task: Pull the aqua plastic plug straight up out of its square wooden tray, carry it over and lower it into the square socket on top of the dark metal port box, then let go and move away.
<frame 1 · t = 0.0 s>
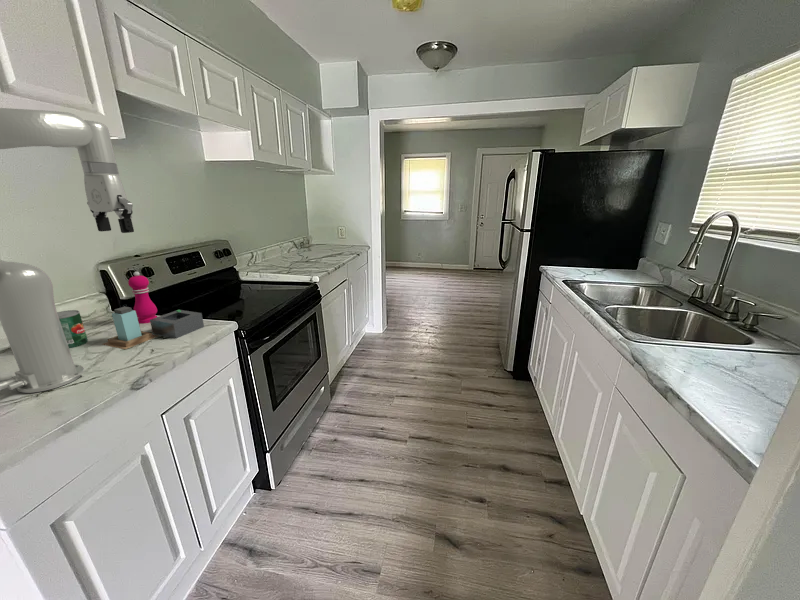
hand: (116, 231, 97), 37 cm above the worktop, tool pointing down, fingers open, 9 cm apart
pepper mill: (148, 322, 126), on the worktop
square wooden tray: (131, 341, 110), on the worktop
canned tomato: (72, 346, 106), on the worktop
plug: (131, 339, 109), point 1 cm above the worktop, touching square wooden tray
port: (179, 331, 118), on the worktop
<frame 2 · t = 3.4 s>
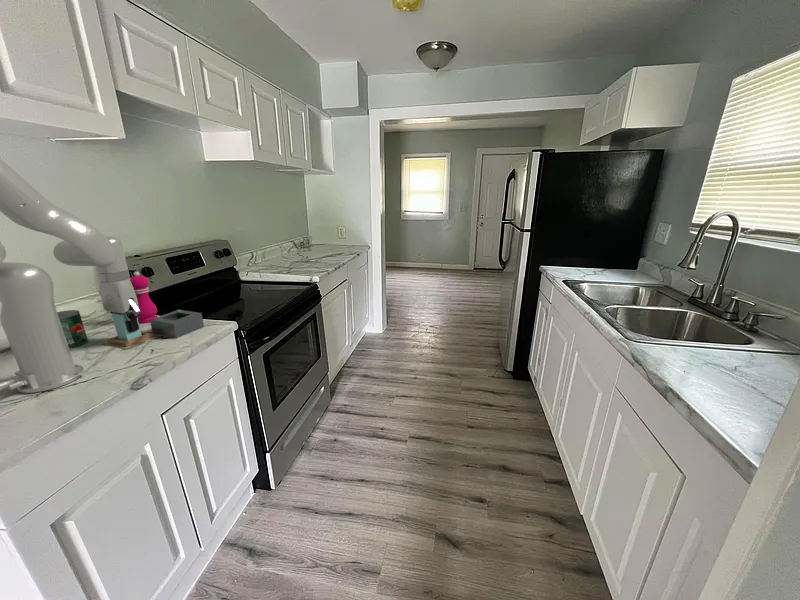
hand: (128, 329, 108), 4 cm above the worktop, tool pointing down, fingers closed on plug, 4 cm apart
plug: (131, 339, 109), point 1 cm above the worktop, touching gripper, square wooden tray
everything else where it was.
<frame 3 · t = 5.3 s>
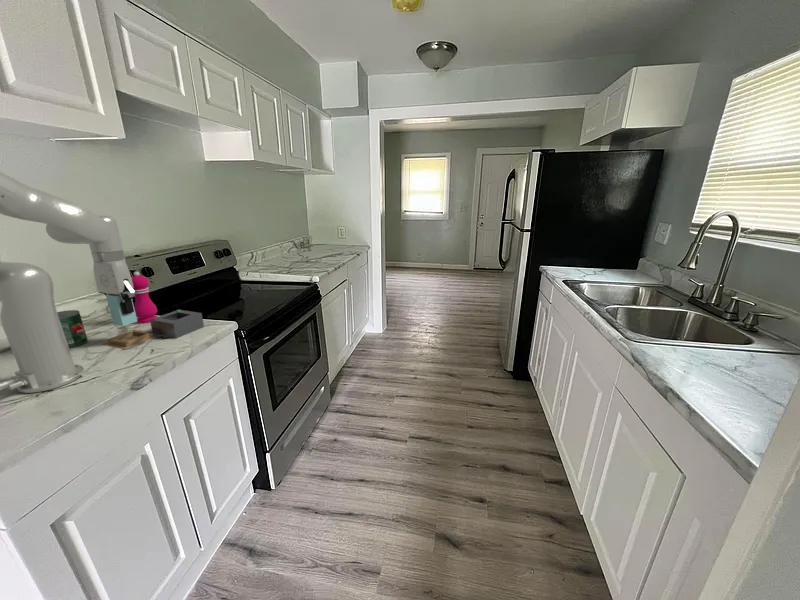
hand: (122, 311, 106), 11 cm above the worktop, tool pointing down, fingers closed on plug, 4 cm apart
plug: (125, 322, 107), point 7 cm above the worktop, touching gripper
everything else where it was.
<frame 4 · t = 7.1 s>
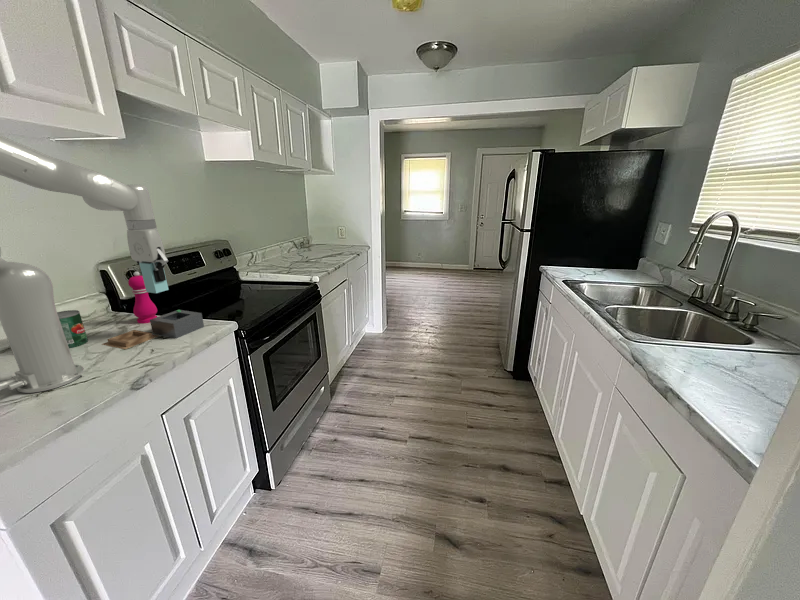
hand: (155, 280, 110), 20 cm above the worktop, tool pointing down, fingers closed on plug, 4 cm apart
plug: (157, 290, 111), point 16 cm above the worktop, touching gripper
everything else where it was.
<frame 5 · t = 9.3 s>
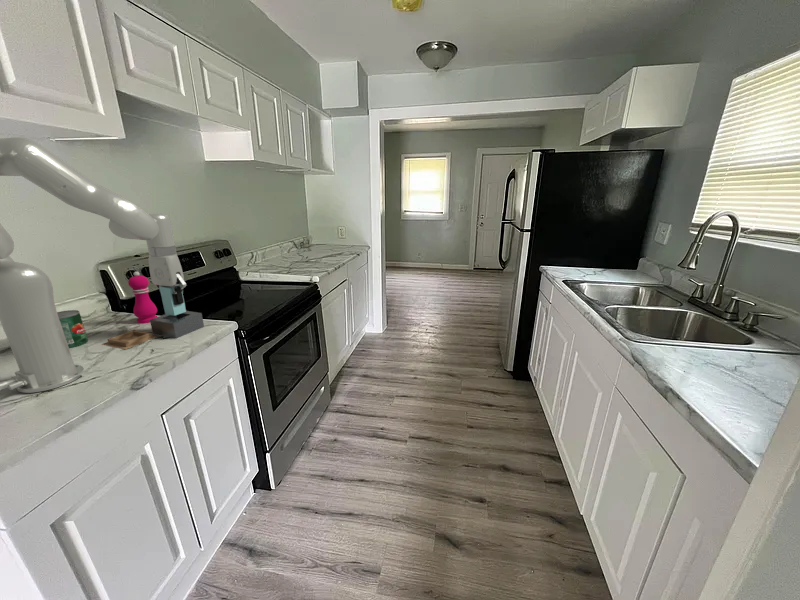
hand: (173, 302, 114), 11 cm above the worktop, tool pointing down, fingers closed on plug, 4 cm apart
plug: (175, 312, 116), point 7 cm above the worktop, touching gripper
everything else where it was.
when the fingers open (8 cm above the worktop, at t = 11.1 s): plug stays where it is, resting on port.
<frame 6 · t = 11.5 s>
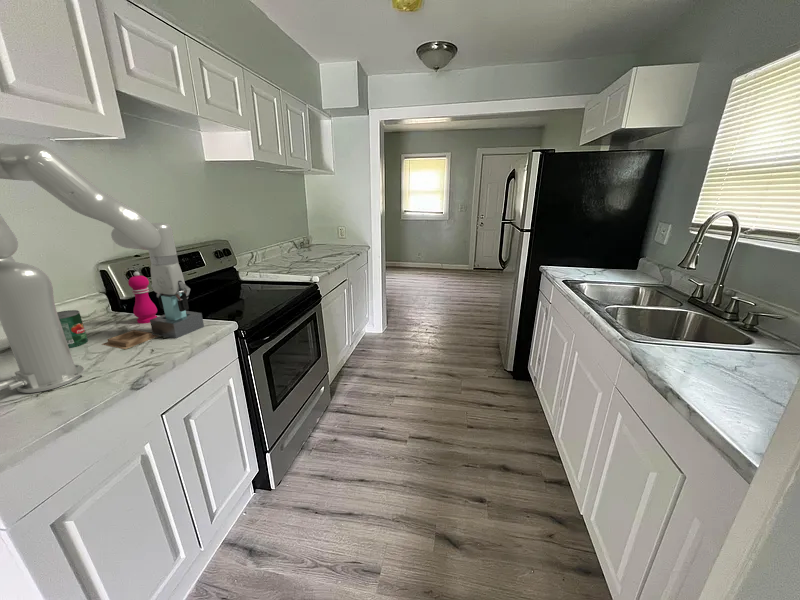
hand: (174, 308, 115), 9 cm above the worktop, tool pointing down, fingers open, 8 cm apart
plug: (177, 321, 117), point 4 cm above the worktop, touching port
everything else where it was.
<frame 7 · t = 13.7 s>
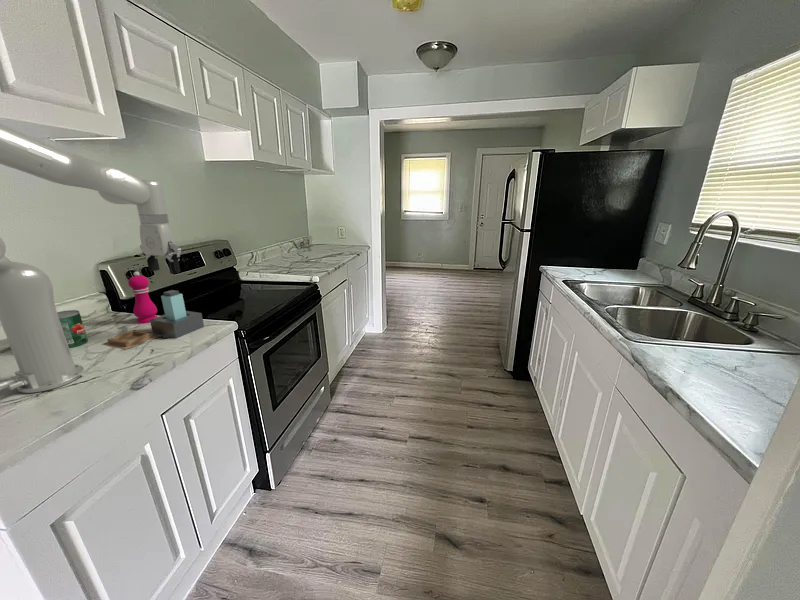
hand: (164, 271, 111), 22 cm above the worktop, tool pointing down, fingers open, 9 cm apart
nothing on the worktop moved.
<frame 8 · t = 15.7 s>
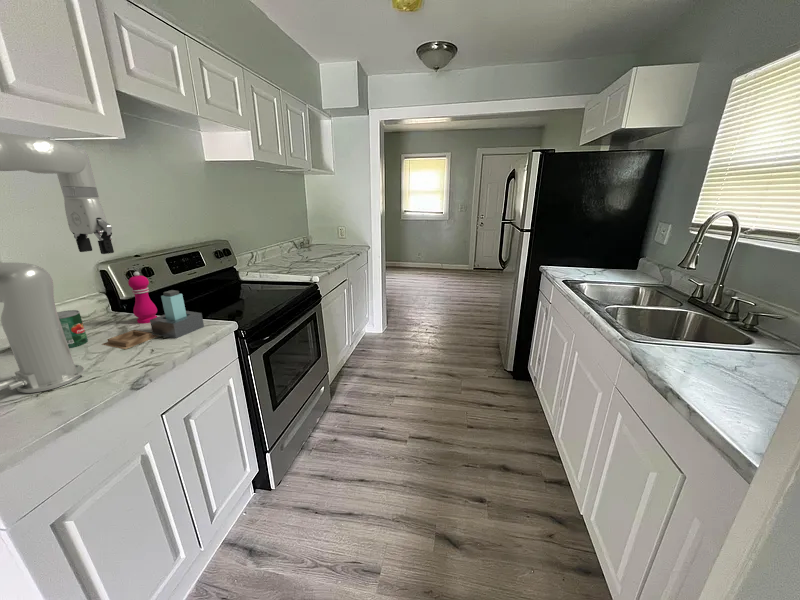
hand: (96, 252, 100), 30 cm above the worktop, tool pointing down, fingers open, 9 cm apart
nothing on the worktop moved.
at the end: plug 0.1 cm off-centre on the port, point 4.0 cm above the port's base; plug tilted 0°; the gripper is holding nothing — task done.
